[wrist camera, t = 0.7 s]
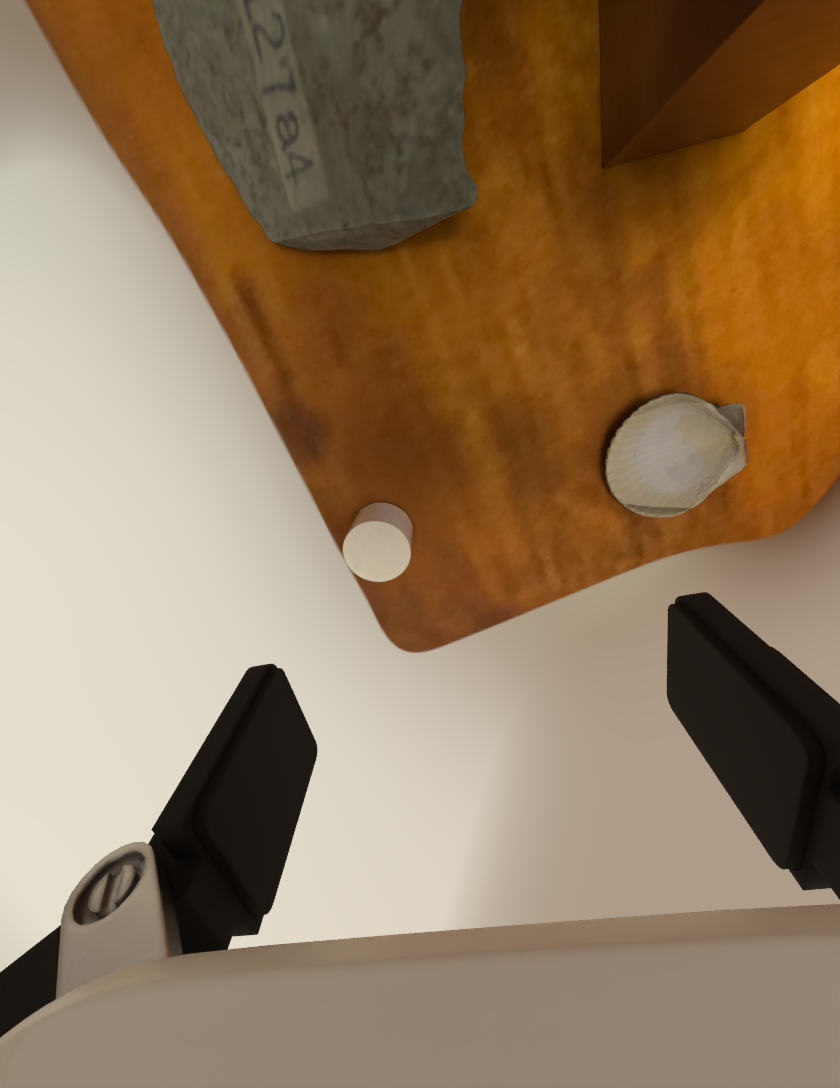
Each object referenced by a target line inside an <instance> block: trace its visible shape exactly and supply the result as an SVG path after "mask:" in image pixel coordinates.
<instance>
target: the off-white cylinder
mask: <svg viewBox="0 0 840 1088" xmlns="http://www.w3.org/2000/svg"><path fill="white" fill-rule="evenodd" d="M412 539H413V527H412V523H411V521H410V519H409V517H408V516H407V514H406V513H405V512H404V511H403V510H401V509H400V508H399V507H397V506H395V505H392V504H389V503H373V504H370V505H367V506H366V507H364V508H363V509H361V510H360V511H359V512H358V513H357V515H356V516H355V518H354V520H353V522H352V525H351V527H350V529H349V531H348V533H347V535H346V538H345V540H344V543H343V555H344V559H345V561H346V563H347V565H348V567H349V568H350V569H351V570H352V571H353V572H354V573H355V574H356V575H358V576H359V577H361V578H363V579H366V580H369V581H375V582H383V581H388V580H391V579H394V578H396V577H397V576H399V575H400V574H401V573H402V572H403V571H404V570H405V569H406V567H407V566H408V564H409V561H410V556H411V547H412Z"/></svg>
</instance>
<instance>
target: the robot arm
mask: <svg viewBox="0 0 840 1088" xmlns="http://www.w3.org/2000/svg"><path fill="white" fill-rule="evenodd" d="M667 697H668V701H669V704H670V706H671V708H672V710H673V712H674V713H675V715H676V716H677V718H678V719H679V721H680V722H681V724H682V725H683V726H684V728H685V730H686V731H687V733H688V734H689V736H690V737H691V739H692V740H693V742H694V743H695V745H696V746H697V748H698V749H699V751H700V752H701V754H702V755H703V757H704V758H705V760H706V761H707V763H708V764H709V765H710V767H711V769H712V770H713V772H714V773H715V775H716V776H717V777H718V779H719V781H720V782H721V784H722V785H723V787H724V788H725V790H726V791H727V792H728V794H729V795H730V797H731V799H732V800H733V802H734V803H735V804H736V806H737V808H738V809H739V811H740V812H741V814H742V815H743V816H744V818H745V820H746V821H747V823H748V824H749V826H750V827H751V829H752V830H753V831H754V833H755V834H756V836H757V838H758V839H759V840H760V842H761V843H762V845H763V847H764V848H765V850H766V851H767V853H768V854H769V856H770V857H771V858H772V860H773V861H774V862H775V863H776V865H777V866H778V867H780V868H781V869H789V870H790V872H791V873H792V875H793V876H794V878H795V879H796V881H797V882H798V884H799V885H800V886H801V888H802V889H803V890H812V889H825V888H832V890H833V891H834V892H835V894H836V895H837V896H838V898H839V899H840V704H839V703H838V702H837V701H836V700H835V699H833V698H832V697H831V696H830V695H829V694H828V693H826V692H825V691H824V690H823V689H822V688H821V687H819V686H818V685H817V684H816V683H815V682H814V681H812V680H811V679H810V678H809V677H808V676H807V675H806V674H804V673H803V672H802V671H801V670H800V669H799V668H797V667H796V666H795V665H794V664H793V663H792V662H791V661H789V660H788V659H787V658H786V657H785V656H783V655H782V654H781V653H780V652H779V651H777V650H776V649H774V648H773V647H770V646H769V645H767V644H766V643H765V642H764V641H763V640H762V639H761V638H759V637H758V636H757V635H756V634H755V633H754V632H753V631H751V630H750V629H749V628H748V627H747V626H746V625H745V624H743V623H742V622H741V621H740V620H739V619H738V618H737V617H735V616H734V615H733V614H732V613H731V612H730V611H728V610H727V609H726V608H725V607H724V606H723V605H722V604H720V603H719V602H718V601H717V600H716V599H715V598H714V597H712V596H711V595H710V594H708V593H705V592H703V593H697V594H690V595H685V596H679V597H677V598H676V600H675V604H671V605H669V607H668V645H667ZM316 757H317V744H316V741H315V739H314V737H313V734H312V732H311V730H310V728H309V726H308V723H307V721H306V719H305V717H304V714H303V712H302V710H301V708H300V706H299V704H298V701H297V699H296V697H295V695H294V692H293V690H292V688H291V686H290V684H289V681H288V679H287V677H286V675H285V672H284V671H283V670H282V669H281V668H277V667H276V666H275V665H274V664H266V665H260V666H254V667H251V668H249V669H248V670H247V671H246V673H245V674H244V676H243V678H242V679H241V681H240V683H239V685H238V686H237V688H236V689H235V691H234V693H233V695H232V696H231V698H230V699H229V701H228V703H227V705H226V706H225V708H224V710H223V711H222V713H221V715H220V716H219V718H218V719H217V721H216V723H215V725H214V726H213V728H212V730H211V731H210V733H209V735H208V736H207V738H206V740H205V741H204V743H203V745H202V746H201V748H200V750H199V751H198V753H197V755H196V756H195V758H194V760H193V761H192V763H191V765H190V766H189V768H188V770H187V771H186V773H185V775H184V776H183V778H182V780H181V781H180V783H179V785H178V786H177V788H176V790H175V792H174V793H173V795H172V797H171V798H170V800H169V801H168V803H167V805H166V806H165V808H164V810H163V812H162V813H161V815H160V816H159V818H158V820H157V822H156V823H155V825H154V826H153V828H152V831H153V832H154V833H155V834H154V835H153V837H152V839H151V841H150V842H149V844H146V843H144V842H133V843H130V844H128V845H125V846H122V847H120V848H118V849H117V850H115V851H113V852H111V853H110V854H108V855H107V856H106V857H104V858H103V859H102V860H101V861H99V862H98V863H97V864H95V866H94V867H93V868H92V869H91V870H90V871H89V872H88V873H87V874H86V875H85V876H84V877H83V878H82V879H81V881H80V882H79V884H78V885H77V886H76V888H75V889H74V890H73V892H72V893H71V895H70V897H69V899H68V901H67V903H66V905H65V907H64V911H63V915H62V919H61V925H60V926H59V927H58V928H57V929H55V930H54V931H53V932H52V933H50V934H49V935H48V936H46V937H45V938H44V939H42V940H41V941H40V942H39V943H37V944H36V945H35V946H33V947H32V948H31V949H30V950H28V951H27V952H26V953H25V954H23V955H22V956H21V957H19V958H18V959H17V960H16V961H14V962H13V963H12V964H11V965H9V966H8V967H7V968H5V969H4V970H3V971H2V972H0V1088H840V904H834V905H813V906H796V907H795V906H794V907H774V908H755V909H737V910H719V911H705V912H691V913H677V914H664V915H649V916H635V917H623V918H607V919H594V920H579V921H566V922H553V923H540V924H527V925H514V926H501V927H487V928H475V929H462V930H450V931H436V932H424V933H412V934H399V935H387V936H375V937H363V938H350V939H338V940H326V941H315V942H302V943H290V944H279V945H267V946H258V947H248V948H240V949H230V950H227V949H228V946H229V944H230V941H231V938H232V936H244V935H256V934H258V932H259V929H260V926H261V922H262V919H263V916H264V915H265V914H267V913H269V911H270V910H271V908H272V905H273V902H274V899H275V896H276V893H277V889H278V886H279V882H280V879H281V876H282V872H283V869H284V866H285V862H286V859H287V855H288V852H289V849H290V845H291V842H292V839H293V835H294V832H295V828H296V825H297V822H298V818H299V815H300V812H301V808H302V805H303V801H304V798H305V795H306V791H307V788H308V784H309V781H310V777H311V774H312V771H313V768H314V764H315V761H316Z"/></svg>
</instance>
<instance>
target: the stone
mask: <svg viewBox="0 0 840 1088" xmlns="http://www.w3.org/2000/svg"><path fill="white" fill-rule="evenodd" d="M462 2H463V0H153V5H154V10H155V13H156V17H157V20H158V24H159V27H160V31H161V34H162V38H163V41H164V45H165V48H166V51H167V53H168V55H169V56H170V57H171V60H172V63H173V67H174V70H175V74H176V77H177V81H178V83H179V85H180V87H181V90H182V92H183V94H184V96H185V98H186V100H187V102H188V103H189V105H190V107H191V109H192V111H193V113H194V115H195V117H196V119H197V121H198V123H199V125H200V127H201V128H202V130H203V132H204V134H205V135H206V137H207V138H208V140H209V142H210V144H211V146H212V148H213V150H214V152H215V154H216V156H217V157H218V159H219V161H220V163H221V165H222V167H223V169H224V170H225V171H226V173H227V174H228V175H229V176H230V177H231V178H232V179H233V181H234V183H235V185H236V187H237V190H238V192H239V194H240V196H241V198H242V199H243V201H244V202H245V204H246V205H247V207H248V209H249V211H250V214H251V215H252V216H253V217H254V218H255V219H256V220H257V221H258V222H259V223H260V224H261V225H262V226H263V228H264V231H265V233H266V236H267V238H268V239H270V240H271V241H273V242H275V243H278V244H281V245H285V246H290V247H294V248H298V249H305V250H321V251H324V250H336V249H354V250H379V249H383V248H386V247H389V246H391V245H394V244H397V243H399V242H401V241H403V240H405V239H407V238H409V237H410V236H412V235H414V234H416V233H419V232H421V231H423V230H424V229H426V228H428V227H430V226H432V225H434V224H436V223H438V222H440V221H442V220H444V219H447V218H449V217H451V216H453V215H455V214H457V213H459V212H461V211H464V210H466V209H468V208H471V207H472V206H474V204H475V202H476V200H477V185H476V184H475V182H474V181H473V180H472V178H471V176H470V175H469V173H468V171H467V168H466V163H465V158H464V153H463V147H462V140H463V131H464V121H465V111H464V105H463V89H464V83H465V78H466V68H465V62H464V56H463V50H462V44H461V31H460V15H459V14H460V11H461V7H462Z"/></svg>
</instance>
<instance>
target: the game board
mask: <svg viewBox="0 0 840 1088" xmlns="http://www.w3.org/2000/svg"><path fill="white" fill-rule="evenodd" d="M599 15H600V65H601V115H602V165H603V169H604V168H608V167H612V166H615V165H619V164H623V163H627V162H630V161H634V160H638V159H641V158H645V157H649V156H652V155H656V154H660V153H664V152H667V151H671V150H675V149H678V148H682V147H686V146H690V145H693V144H697V143H701V142H704V141H708V140H712V139H716V138H719V137H723V136H727V135H730V134H734V133H738V132H742V131H744V130H745V129H747V128H748V127H750V126H751V125H753V124H754V123H756V122H757V121H758V120H760V119H761V118H763V117H764V116H766V115H767V114H769V113H770V112H771V111H773V110H774V109H776V108H777V107H779V106H780V105H782V104H783V103H784V102H786V101H787V100H789V99H790V98H792V97H793V96H795V95H796V94H797V93H799V92H800V91H802V90H803V89H805V88H806V87H808V86H809V85H810V84H812V83H813V82H815V81H816V80H818V79H819V78H821V77H822V76H823V75H825V74H826V73H828V72H829V71H831V70H832V69H834V68H835V67H836V66H838V65H839V64H840V0H599Z"/></svg>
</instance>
